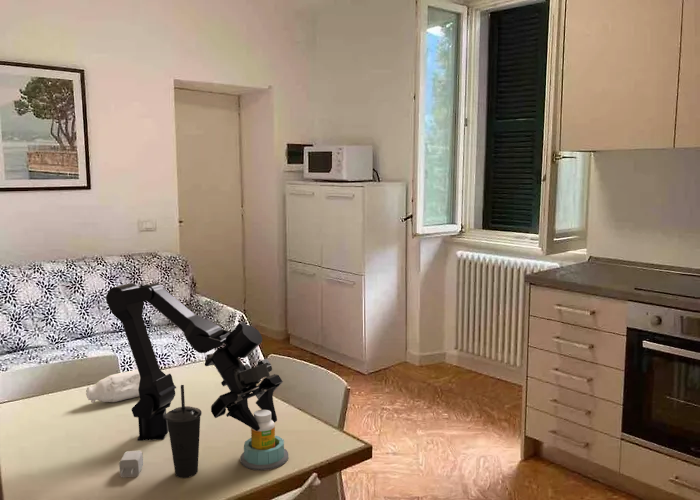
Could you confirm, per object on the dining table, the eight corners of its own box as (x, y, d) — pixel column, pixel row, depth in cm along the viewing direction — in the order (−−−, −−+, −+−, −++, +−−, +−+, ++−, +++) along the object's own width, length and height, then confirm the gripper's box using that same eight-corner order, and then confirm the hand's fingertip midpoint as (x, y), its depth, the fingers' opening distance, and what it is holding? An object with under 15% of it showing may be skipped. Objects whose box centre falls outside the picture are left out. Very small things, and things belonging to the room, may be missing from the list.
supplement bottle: (262, 460, 136) (261, 419, 135) (246, 453, 140) (245, 413, 138) (280, 452, 140) (279, 412, 139) (264, 445, 144) (263, 406, 142)
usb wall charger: (143, 467, 137) (142, 450, 136) (136, 482, 130) (135, 464, 130) (124, 468, 136) (123, 451, 136) (117, 483, 130) (115, 466, 129)
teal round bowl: (238, 471, 134) (237, 455, 134) (242, 449, 145) (242, 434, 144) (287, 468, 135) (287, 452, 134) (288, 447, 146) (288, 432, 145)
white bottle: (84, 403, 177) (82, 377, 176) (147, 388, 188) (146, 363, 187) (92, 411, 170) (90, 384, 169) (157, 395, 182) (156, 369, 181)
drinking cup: (172, 465, 137) (167, 380, 135) (206, 463, 138) (202, 378, 136) (165, 482, 130) (160, 392, 127) (201, 480, 130) (197, 390, 128)
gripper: (218, 360, 132) (255, 421, 127) (276, 341, 147) (312, 394, 142) (195, 388, 137) (230, 447, 132) (253, 367, 152) (287, 419, 147)
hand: (267, 425), depth 138 cm, fingers open, 5 cm apart
